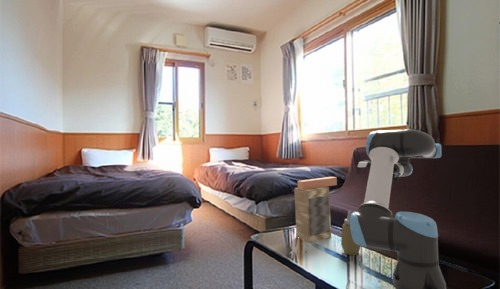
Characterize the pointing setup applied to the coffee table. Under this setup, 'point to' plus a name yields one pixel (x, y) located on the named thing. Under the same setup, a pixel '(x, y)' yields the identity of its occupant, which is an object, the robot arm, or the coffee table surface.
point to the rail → (317, 183)
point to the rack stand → (312, 214)
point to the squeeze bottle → (348, 238)
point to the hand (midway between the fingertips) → (370, 170)
